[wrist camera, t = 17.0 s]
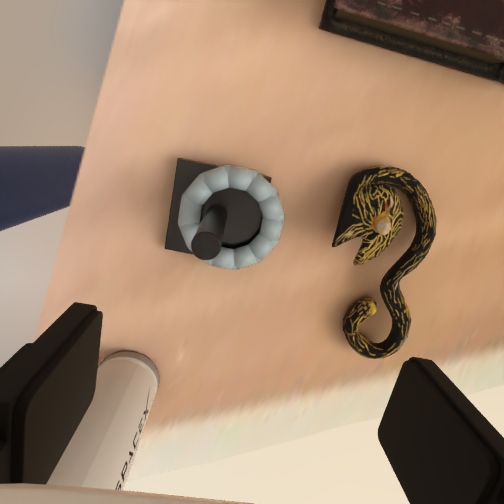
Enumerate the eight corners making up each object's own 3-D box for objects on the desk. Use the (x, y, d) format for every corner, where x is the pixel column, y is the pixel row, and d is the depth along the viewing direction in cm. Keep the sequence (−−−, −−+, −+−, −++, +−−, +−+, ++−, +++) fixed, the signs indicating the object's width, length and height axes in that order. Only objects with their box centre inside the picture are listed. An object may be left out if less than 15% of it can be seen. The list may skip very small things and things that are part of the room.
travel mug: (87, 387, 36) (-85, 657, 17) (115, 339, 35) (-38, 577, 16) (141, 412, 37) (37, 692, 18) (171, 367, 36) (91, 620, 17)
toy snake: (406, 385, 31) (298, 359, 31) (389, 357, 36) (294, 334, 36) (487, 187, 27) (361, 155, 27) (455, 184, 31) (348, 157, 31)
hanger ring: (174, 254, 31) (170, 261, 30) (189, 155, 29) (186, 156, 27) (269, 272, 32) (271, 279, 30) (292, 177, 30) (295, 179, 28)
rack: (166, 245, 32) (130, 294, 22) (179, 157, 30) (146, 164, 19) (251, 261, 33) (257, 317, 22) (270, 177, 31) (286, 194, 20)
